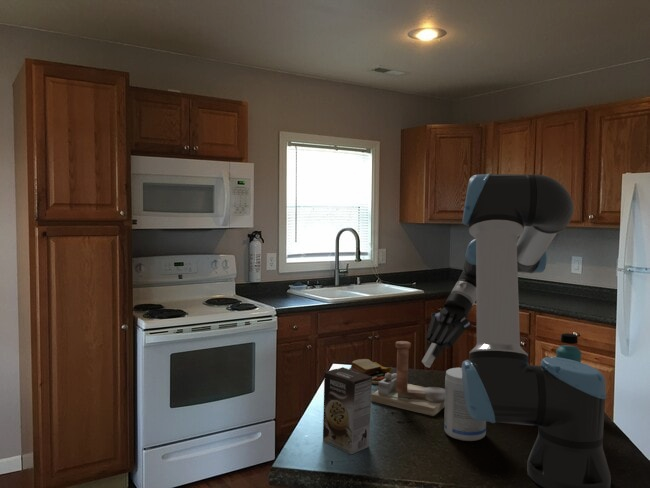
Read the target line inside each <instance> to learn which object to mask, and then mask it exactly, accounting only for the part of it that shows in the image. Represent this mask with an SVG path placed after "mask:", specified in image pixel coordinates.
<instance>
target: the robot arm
mask: <svg viewBox="0 0 650 488" xmlns="http://www.w3.org/2000/svg"><path fill="white" fill-rule="evenodd" d="M464 201H465V202H464V207H463V215H462V221H461V223H462V224H463V225H465V226H467V227H468V232H469V235H471V236H472V237H473V239H472V240H471V241H470V242H469V243H468V245H467V247H466V251H465V254H464V255H465V256H464V257H465V258H464V265H463V269H462V272H461V274H460V276H459V278H458V280H457V281H456V283H455V285H454V287H453V288H452V290H451V291H450V294H449V295H448V296H447V299H446V301H445V302H444V306H443V308H442V309H440V310H439V312H437V313H436V312H431V314H430V317H431V319H430V322H429V326H428V330H427V332H426V335H425V340H426V341H427V342H428V345H427V347H426V349H425V351H424V353H425V355H424V356H423V357H422V360H421V363H422V364H423V365H424V367H426V368H428V369H429V368H431V366H432V364H433V362H434V360H435V359H436V358H438V357H439V356H440V354H441V352H442V350H443V349H444V348H445V349H451V347H452V346H453V345H454V344H455V343H456V342H457V340H458V339H459V338H460V337H461V336H462V335H463V334H464V332H465V331H466V330H467V329H469V328H470V327H471V326H472V325H471V322H470V321H469V319H468V318H467V317H468V316H469V314H470V312H471V310H472V309H473V306H474V305H475V303H476V308H475V309H476V310H475V311H476V317H475V318H476V345H475V346H474V347H473V348H472V349H471V350H470V351H469V352H468V353H469V355H468V356H469V357H468V359H466V360H463V361H462V363H461V368H462V382H463V391H464V397H465V403H466V408H467V411H468V413H469V415H470V416H471V417H472V418H473V419H475V420H480V421H486V423H487V422H488V423H491V424H496V423H498V424H499V423H500V424H507V425H509V424H510V425H511V424H512V425H519V426H520V425H521V426H534V427H535V426H537V427H538V430H537V432H538V433H537V436H536V439H535V441H534V444H533V446H532V449H531V451H530V453H529V456H528V459H527V461H526V463H527V464H526V465H527V466H526V469H527V470H526V471H527V472H526V473H527V475H528V477H529V478H530V479H531V480H532V481H533V482H534V483H536V484H537V485H539V486H540V487H541V488H611V480H612V476H611V472H610V468H609V465H608V462H607V458H606V454H605V452H604V448H603V445H604V443H603V442H604V441H603V440H604V426H605V424H604V422H605V409H606V408H605V407H606V399H607V391H606V390H607V388H606V385H607V384H606V377H605V375H604V374H603V373H602V372H601V371H600V370H598V369H597V368H595V367H594V366H592V365H589V364H586V363H583V362H582V361H581V362H578V361H574V360H570V359H565V358H559V357H556V356H546V357H543V358H542V359H541V361H540V365H533V364H529V354H528V353H527V352H526V351H525V350H524V349H523V348H522V346H521V339H520V337H521V336H520V332H521V331H520V308H519V307H520V304H519V302H520V300H519V278H518V277H519V276H518V275H519V274H518V273H527V274H536V273H538V274H539V273H542V272H544V271H546V266H547V260H548V258H547V249H548V247H549V246H550V245H551V243H552V241H553V239H554V238H555V237H556V235H557V234H558V233H560V232H563V231H564V230H565V229H566V228H567V227H568V225H569V224H570V223H571V220H572V219H573V216H574V210H575V209H574V207H575V206H574V202H573V199H572V196H571V194H570V193H569V191H568V189H567V188H566V187H565V186H564V185H563V184H562V183H560V182H559V181H558V180H556V179H554V178H553V177H550V176H547V175H545V174H534V173H533V174H511V173H509V174H507V173H506V174H505V173H501V174H499V173H491V172H489V173H487V174H485V173H483V174H482V173H481V174H475V175H472V176H471V177H470V178H469V180H468V185H467V189H466V194H465V200H464Z"/></svg>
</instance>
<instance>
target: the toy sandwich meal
mask: <svg viewBox="0 0 650 488" xmlns="http://www.w3.org/2000/svg"><path fill="white" fill-rule="evenodd" d="M349 369H350V370H353V371H356V372H359V373H362V374H365V375H368V376H372V385H378V382H379V381H381V380H383V379H385V374H386V373H390V374H391V375H392V374H393V373H392V371H393V367H392V366H390V367H385V366H382V365H381V364H379V363H378V362H376V361H372V360H370V359H367V358H361V359H360V358H359V359H355V360H353V361H352V362H351V366H350V368H349Z"/></svg>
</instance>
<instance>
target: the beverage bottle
mask: <svg viewBox="0 0 650 488" xmlns="http://www.w3.org/2000/svg"><path fill="white" fill-rule="evenodd" d="M560 342H561V343H564V344H562V345H560V346H558V347H557V348H556V349H555V351H556V353H555V354H556V355H555V357H559V358H565V359H570V360H574V361H578V362H581V363H582V350H580V349H579V347H577V346H574V345H577V344H578V335H577V334H574V333H562V334H561V337H560Z"/></svg>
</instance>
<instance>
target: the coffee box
mask: <svg viewBox="0 0 650 488" xmlns="http://www.w3.org/2000/svg"><path fill="white" fill-rule="evenodd" d="M323 381H324V382H323V419H322V420H323V421H322V422H323V423H322V424H323V425H322V442H324V443H325V444H328V445H330V446H332V447H334V448H336V449H338V450H341V451H344V452H345V453H347V454H349V455H353V454H356V453H358V452H360V451H362V450H365V449H367V448H370V436H371V431H370V430H371V410H372V409H371V408H372V401H371V394H372V385H373V384H372V376H368V375H365V374H362V373H359V372H356V371H353V370H350V368H346V367H339V368H335V369H334V368H333V369H331V370H327V371H325V372H324V378H323Z"/></svg>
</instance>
